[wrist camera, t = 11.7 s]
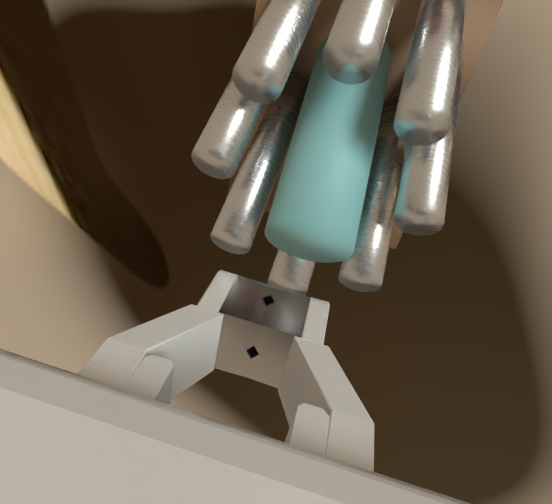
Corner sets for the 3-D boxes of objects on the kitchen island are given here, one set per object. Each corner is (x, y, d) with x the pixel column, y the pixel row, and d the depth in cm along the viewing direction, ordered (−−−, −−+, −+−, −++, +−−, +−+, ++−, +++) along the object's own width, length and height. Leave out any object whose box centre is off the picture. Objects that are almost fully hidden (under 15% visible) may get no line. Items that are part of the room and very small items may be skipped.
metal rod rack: (309, -152, 17) (230, -331, 8) (518, -107, 16) (682, -249, 8) (248, 182, 25) (176, 274, 16) (387, 221, 25) (390, 340, 16)
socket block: (298, -158, 18) (284, -186, 15) (532, -108, 17) (559, -129, 14) (241, 182, 26) (226, 200, 24) (394, 225, 25) (395, 249, 23)
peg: (402, 37, 16) (364, 234, 13) (378, 95, 19) (343, 269, 16) (324, 18, 16) (266, 209, 13) (312, 80, 19) (262, 248, 16)
